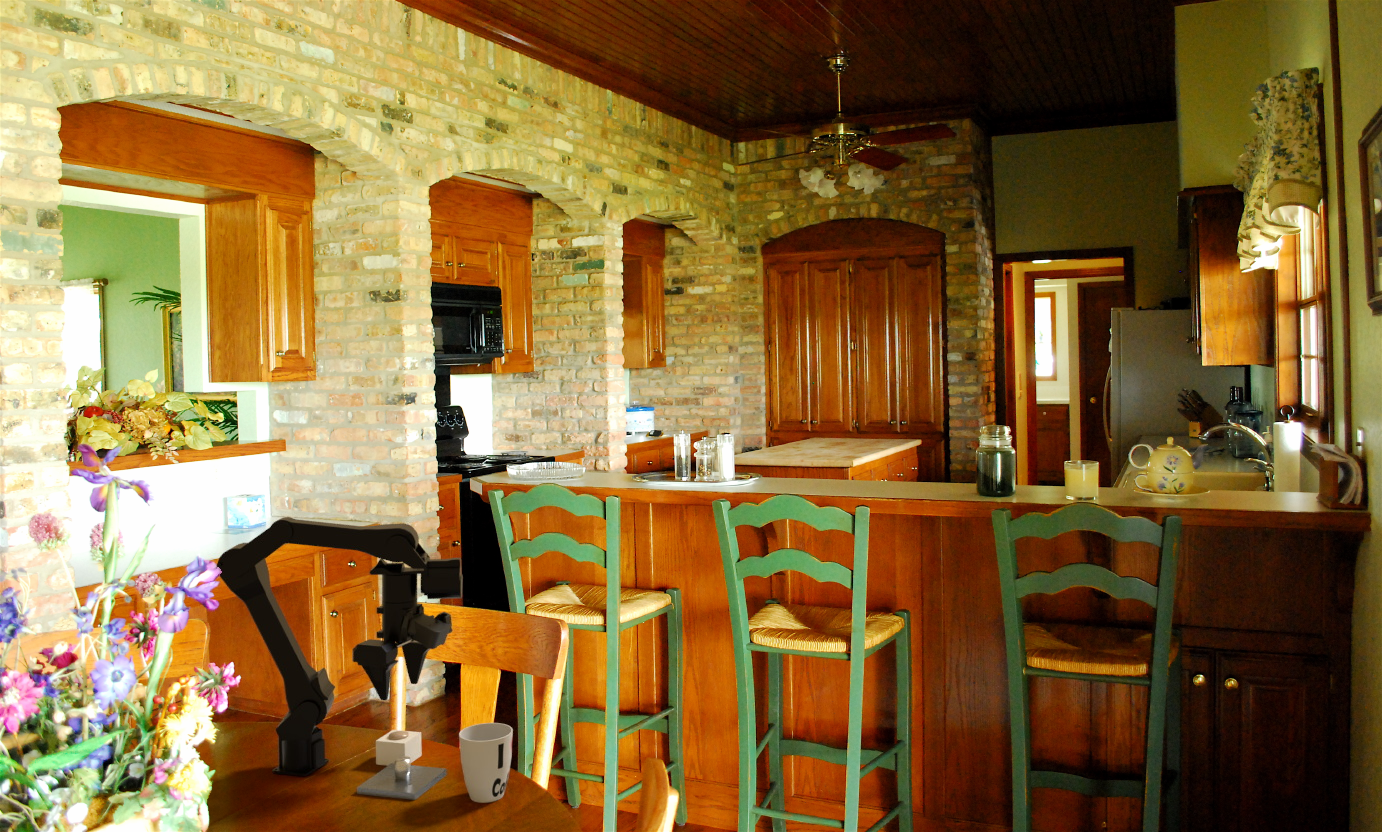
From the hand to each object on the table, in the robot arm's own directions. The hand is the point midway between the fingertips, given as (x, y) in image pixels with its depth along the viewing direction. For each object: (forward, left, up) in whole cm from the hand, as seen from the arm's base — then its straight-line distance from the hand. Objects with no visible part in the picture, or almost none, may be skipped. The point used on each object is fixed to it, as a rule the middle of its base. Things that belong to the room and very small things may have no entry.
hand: (399, 691), depth 165 cm
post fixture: (+5, -8, -12) cm, 16 cm away
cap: (-1, +1, -12) cm, 12 cm away
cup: (+20, -9, -12) cm, 26 cm away
